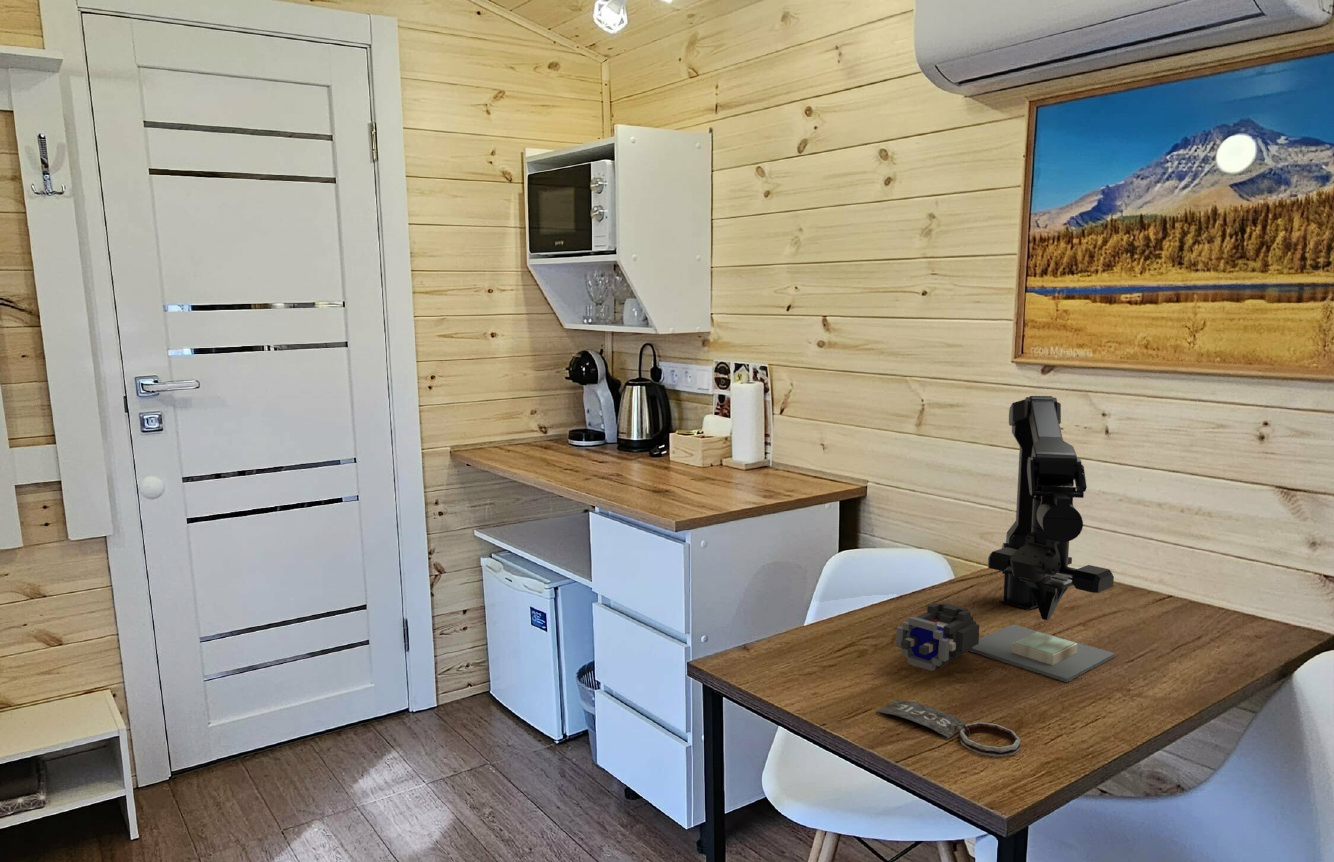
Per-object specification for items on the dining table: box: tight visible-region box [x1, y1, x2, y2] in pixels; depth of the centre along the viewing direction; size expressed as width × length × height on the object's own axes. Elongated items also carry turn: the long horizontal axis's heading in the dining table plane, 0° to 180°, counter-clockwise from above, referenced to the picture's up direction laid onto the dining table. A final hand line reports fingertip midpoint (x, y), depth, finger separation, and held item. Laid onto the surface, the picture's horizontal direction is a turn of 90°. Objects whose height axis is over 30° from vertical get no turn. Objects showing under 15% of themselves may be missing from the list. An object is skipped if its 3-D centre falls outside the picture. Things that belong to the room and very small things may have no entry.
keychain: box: [875, 699, 1022, 758], centre depth 120 cm, size 8×19×2 cm, turn 44°
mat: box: [967, 624, 1116, 683], centre depth 147 cm, size 18×16×1 cm
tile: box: [1012, 631, 1078, 665], centre depth 146 cm, size 8×2×7 cm
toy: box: [895, 602, 980, 672], centre depth 142 cm, size 9×9×15 cm
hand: (1045, 619), depth 146 cm, fingers closed
